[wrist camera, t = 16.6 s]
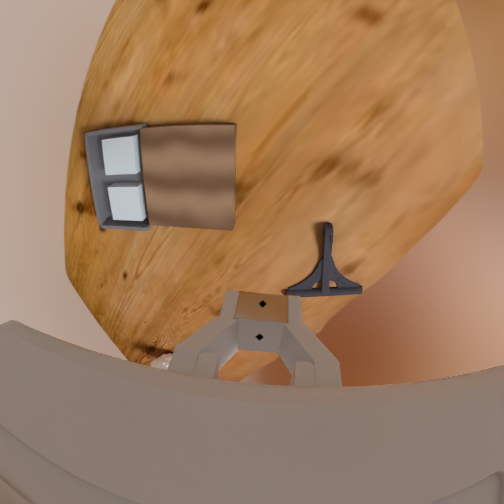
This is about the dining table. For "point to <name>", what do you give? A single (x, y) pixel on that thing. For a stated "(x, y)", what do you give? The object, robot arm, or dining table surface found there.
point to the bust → (162, 361)
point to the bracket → (325, 275)
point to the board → (190, 175)
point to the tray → (110, 177)
